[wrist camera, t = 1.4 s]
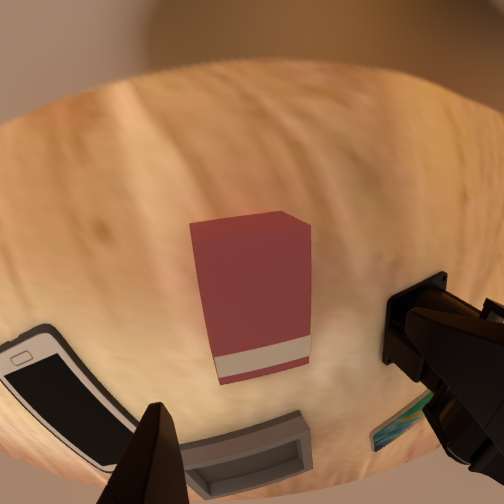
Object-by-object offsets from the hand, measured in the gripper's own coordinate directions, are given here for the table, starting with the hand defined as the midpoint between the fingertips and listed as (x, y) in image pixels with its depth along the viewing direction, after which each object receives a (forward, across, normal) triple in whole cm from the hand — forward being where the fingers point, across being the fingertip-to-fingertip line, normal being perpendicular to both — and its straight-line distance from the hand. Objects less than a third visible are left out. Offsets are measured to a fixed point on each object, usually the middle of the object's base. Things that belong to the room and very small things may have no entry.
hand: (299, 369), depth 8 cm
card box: (+7, 0, 0) cm, 7 cm away
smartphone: (+8, -17, +24) cm, 31 cm away
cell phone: (+7, +14, +7) cm, 17 cm away
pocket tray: (+7, +4, +16) cm, 18 cm away
